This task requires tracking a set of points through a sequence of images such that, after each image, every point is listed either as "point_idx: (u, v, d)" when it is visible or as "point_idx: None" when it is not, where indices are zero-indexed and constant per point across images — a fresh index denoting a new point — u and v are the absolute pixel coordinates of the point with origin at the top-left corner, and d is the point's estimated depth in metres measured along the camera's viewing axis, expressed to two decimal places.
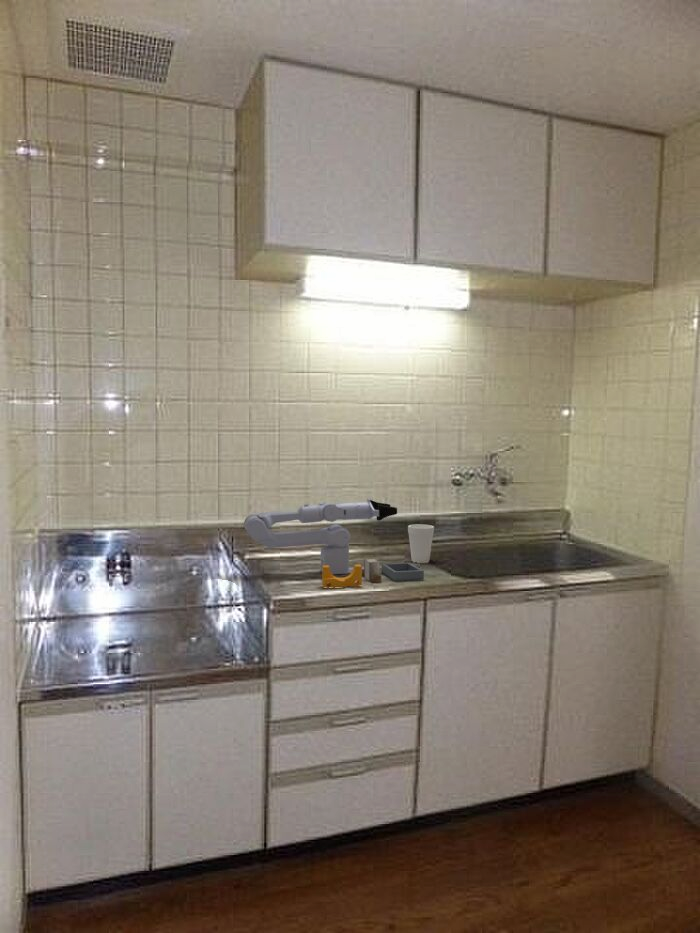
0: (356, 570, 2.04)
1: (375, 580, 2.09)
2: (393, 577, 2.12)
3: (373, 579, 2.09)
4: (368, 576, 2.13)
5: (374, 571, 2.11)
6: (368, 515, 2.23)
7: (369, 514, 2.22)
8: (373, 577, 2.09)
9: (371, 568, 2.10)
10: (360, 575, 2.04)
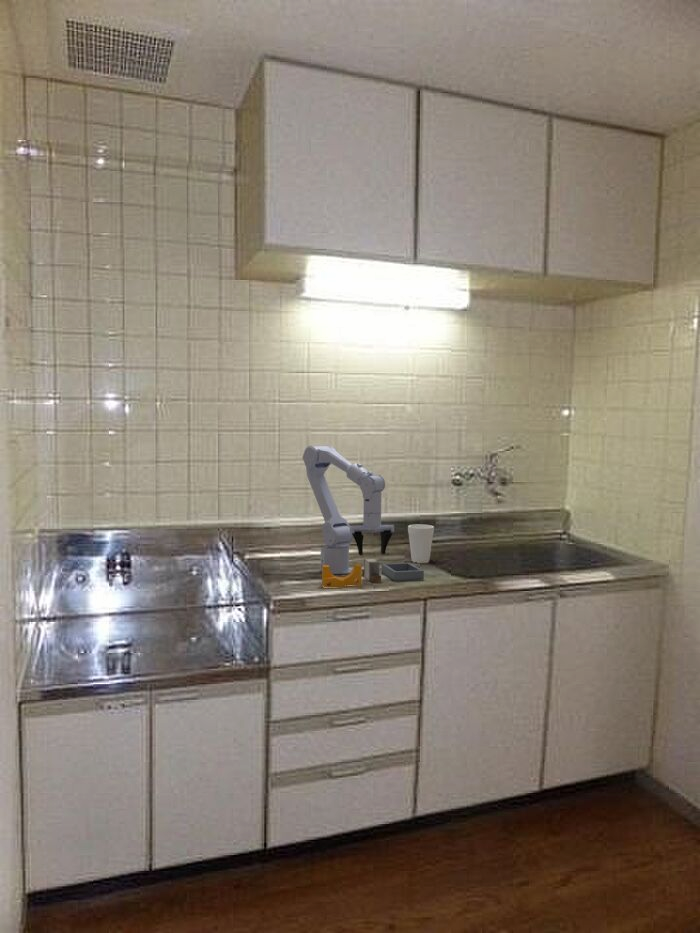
0: (356, 569, 2.04)
1: (375, 580, 2.09)
2: (393, 577, 2.12)
3: (373, 579, 2.09)
4: (368, 576, 2.13)
5: (374, 571, 2.11)
6: None
7: (363, 525, 2.14)
8: (373, 577, 2.09)
9: (371, 568, 2.10)
10: (360, 574, 2.05)
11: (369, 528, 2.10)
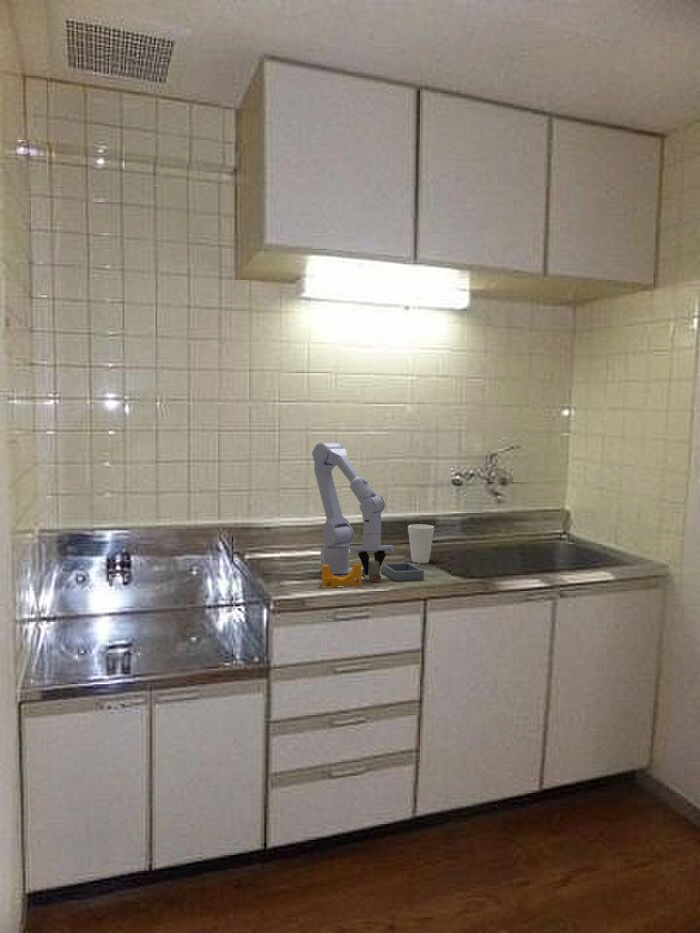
0: (356, 569, 2.05)
1: (375, 580, 2.09)
2: (393, 577, 2.12)
3: (373, 579, 2.09)
4: (368, 576, 2.13)
5: (374, 571, 2.11)
6: None
7: (363, 545, 2.14)
8: (373, 577, 2.09)
9: (371, 568, 2.10)
10: (359, 574, 2.06)
11: (369, 549, 2.11)
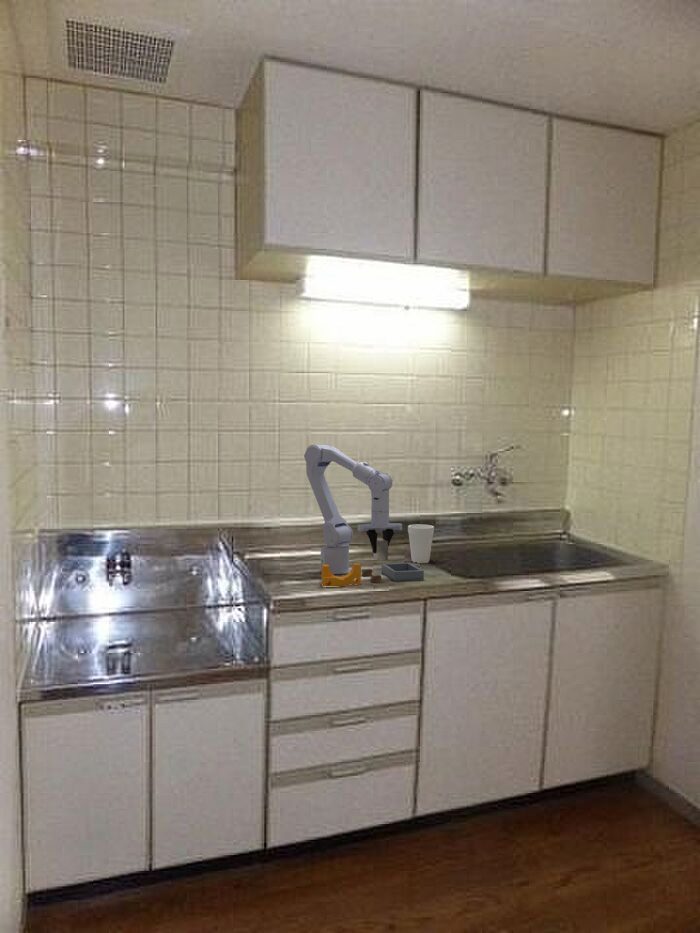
0: (355, 569, 2.06)
1: (375, 580, 2.09)
2: (393, 577, 2.12)
3: (373, 579, 2.09)
4: (376, 555, 2.13)
5: (382, 550, 2.11)
6: None
7: (371, 523, 2.14)
8: (373, 577, 2.09)
9: (379, 547, 2.11)
10: (359, 573, 2.06)
11: (377, 526, 2.11)
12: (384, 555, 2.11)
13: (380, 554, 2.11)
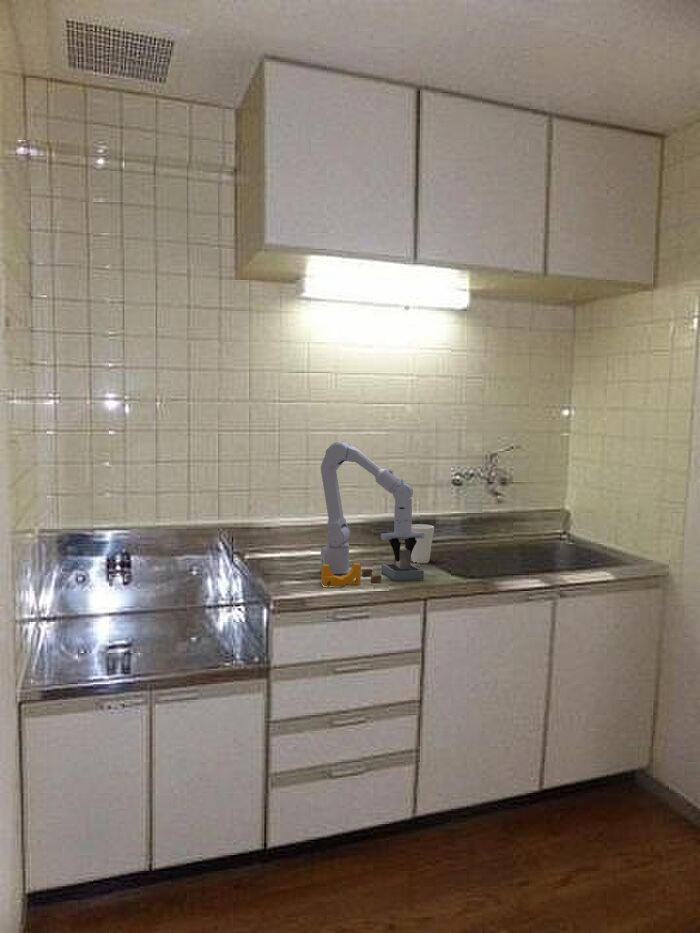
0: (355, 568, 2.06)
1: (375, 580, 2.09)
2: (393, 577, 2.12)
3: (373, 579, 2.09)
4: (399, 564, 2.16)
5: (405, 559, 2.15)
6: None
7: (394, 532, 2.18)
8: (373, 577, 2.09)
9: (402, 556, 2.14)
10: (359, 573, 2.07)
11: (400, 535, 2.15)
12: (407, 564, 2.15)
13: (403, 563, 2.15)
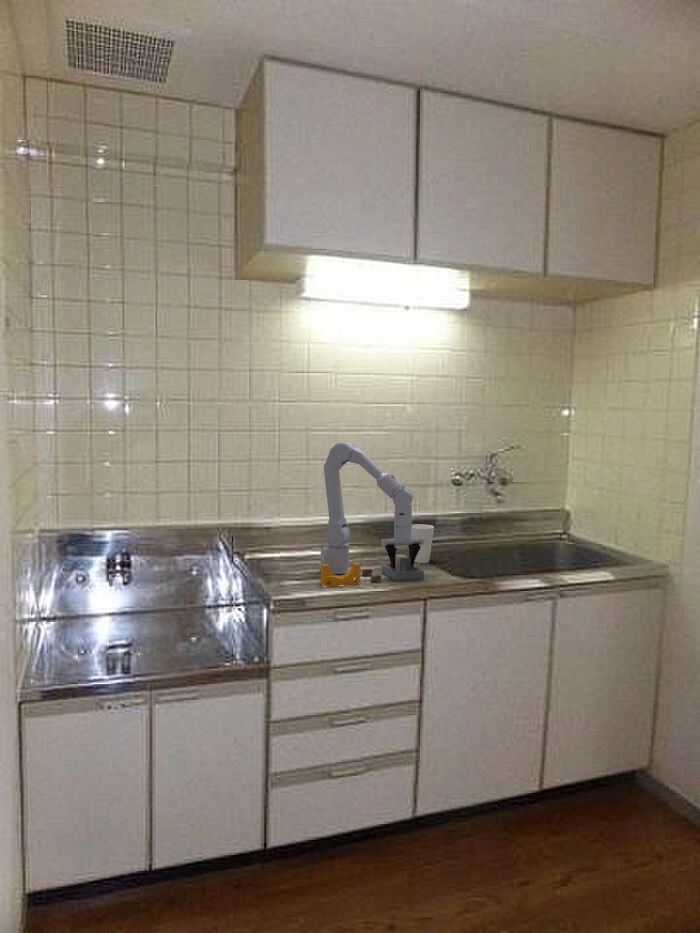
0: (355, 568, 2.07)
1: (375, 580, 2.09)
2: (393, 577, 2.12)
3: (373, 579, 2.09)
4: None
5: (405, 567, 2.15)
6: None
7: (393, 538, 2.18)
8: (373, 577, 2.09)
9: (402, 564, 2.15)
10: (359, 573, 2.07)
11: (400, 541, 2.15)
12: None
13: None
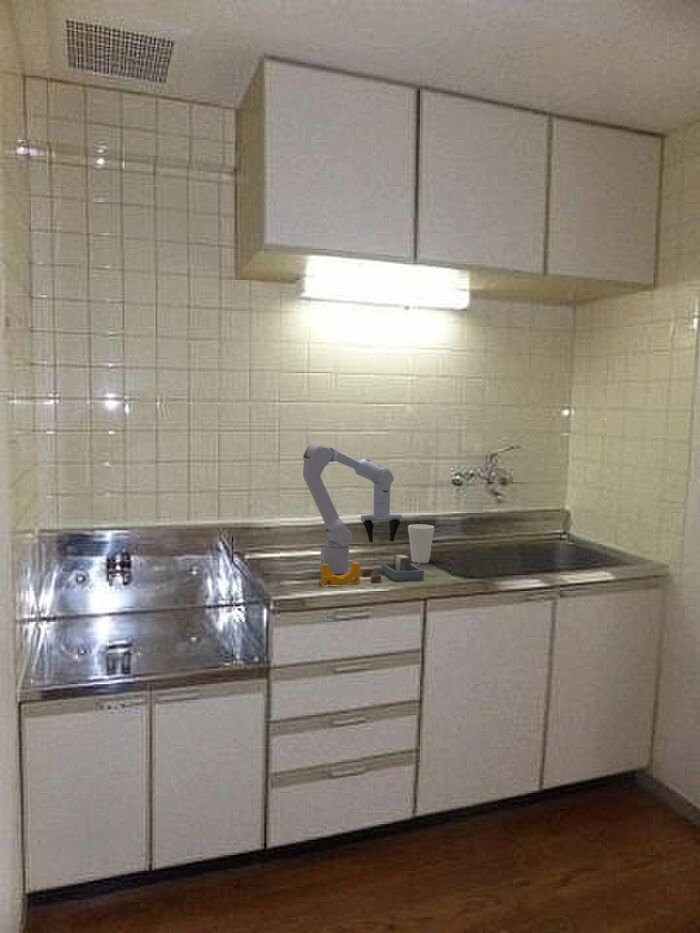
0: (354, 567, 2.07)
1: (375, 580, 2.09)
2: (393, 577, 2.12)
3: (373, 579, 2.09)
4: None
5: (405, 567, 2.15)
6: None
7: (373, 514, 2.30)
8: (373, 577, 2.09)
9: (402, 564, 2.15)
10: (358, 572, 2.08)
11: (379, 517, 2.26)
12: None
13: None
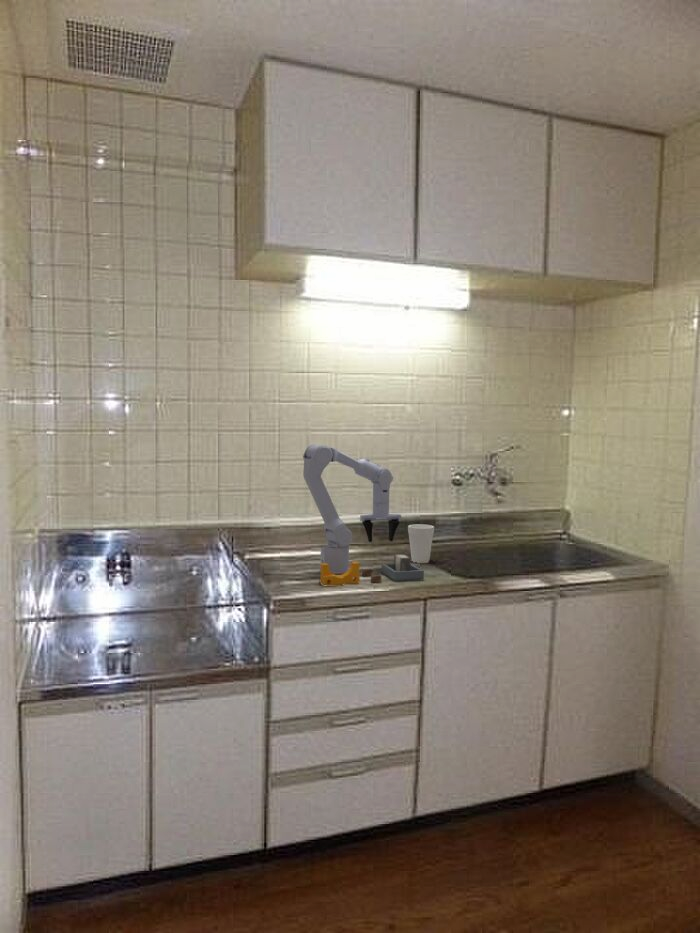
0: (354, 567, 2.08)
1: (375, 580, 2.09)
2: (393, 577, 2.12)
3: (373, 579, 2.09)
4: None
5: (405, 567, 2.15)
6: None
7: (372, 514, 2.30)
8: (373, 577, 2.09)
9: (402, 564, 2.15)
10: (358, 572, 2.08)
11: (378, 517, 2.27)
12: None
13: None
